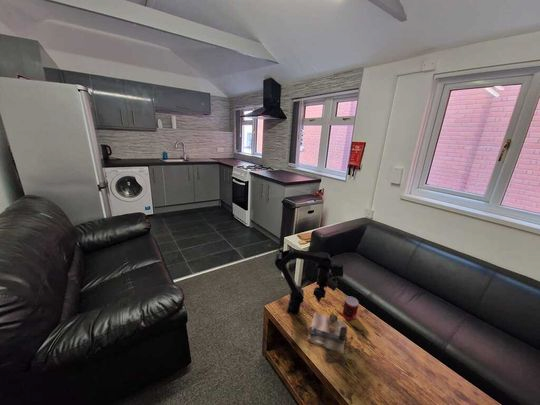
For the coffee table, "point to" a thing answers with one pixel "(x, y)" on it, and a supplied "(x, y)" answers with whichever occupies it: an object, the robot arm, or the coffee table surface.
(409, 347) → the coffee table surface
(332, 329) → the terracotta cube
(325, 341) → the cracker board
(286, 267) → the robot arm
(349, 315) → the canned food
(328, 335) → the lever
